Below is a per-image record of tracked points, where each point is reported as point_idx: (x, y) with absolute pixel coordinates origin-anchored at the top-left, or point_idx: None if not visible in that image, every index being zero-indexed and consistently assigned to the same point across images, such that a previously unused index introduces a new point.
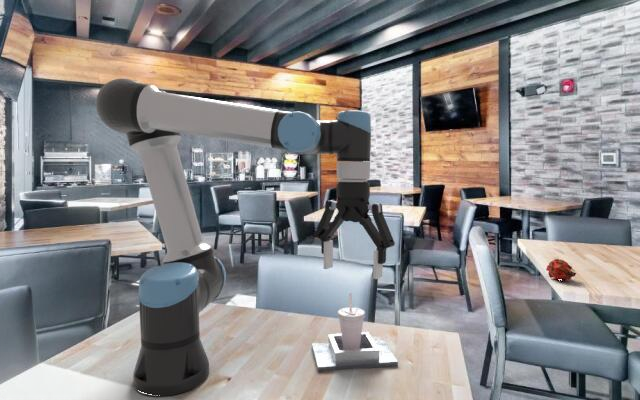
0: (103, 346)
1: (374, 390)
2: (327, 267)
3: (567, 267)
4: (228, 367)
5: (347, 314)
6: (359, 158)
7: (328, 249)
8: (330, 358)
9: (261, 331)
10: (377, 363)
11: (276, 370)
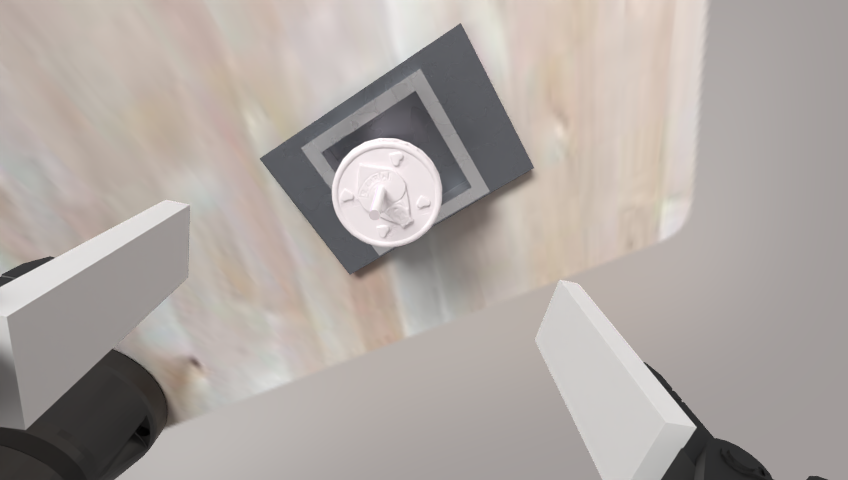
0: None
1: (496, 289)
2: (184, 267)
3: None
4: (152, 329)
5: (384, 232)
6: None
7: (90, 335)
8: None
9: (33, 108)
10: (482, 197)
11: (259, 300)
